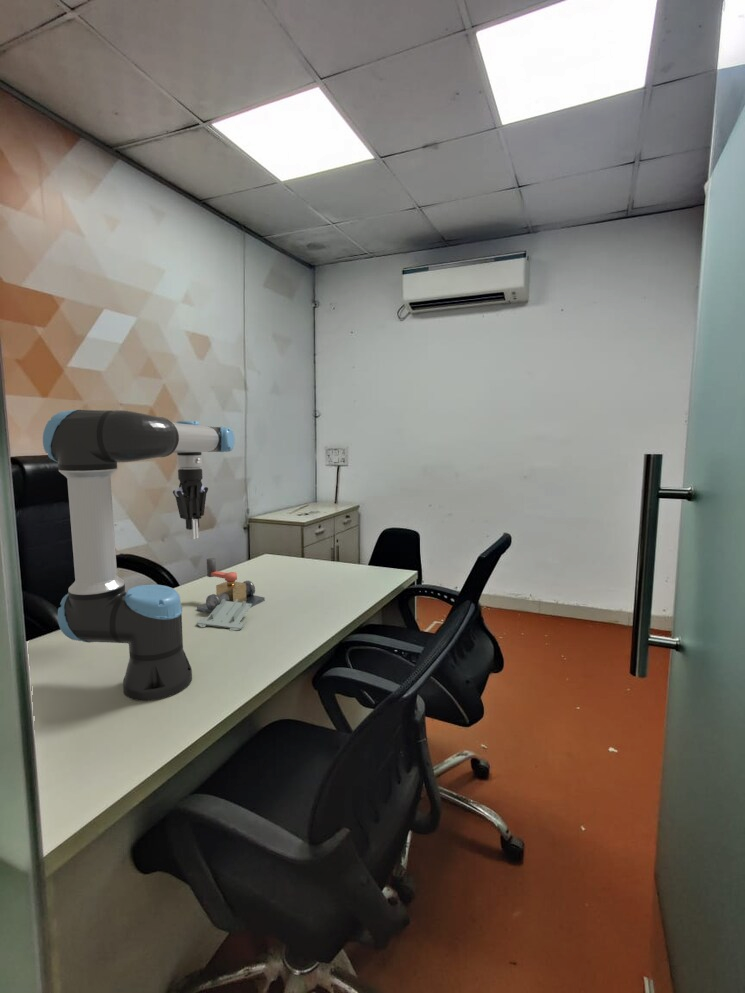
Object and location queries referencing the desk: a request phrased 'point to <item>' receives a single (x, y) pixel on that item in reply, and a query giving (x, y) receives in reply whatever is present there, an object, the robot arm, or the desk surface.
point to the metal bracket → (226, 615)
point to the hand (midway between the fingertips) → (193, 538)
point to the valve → (231, 595)
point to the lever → (213, 573)
